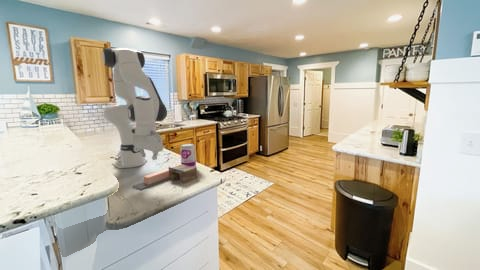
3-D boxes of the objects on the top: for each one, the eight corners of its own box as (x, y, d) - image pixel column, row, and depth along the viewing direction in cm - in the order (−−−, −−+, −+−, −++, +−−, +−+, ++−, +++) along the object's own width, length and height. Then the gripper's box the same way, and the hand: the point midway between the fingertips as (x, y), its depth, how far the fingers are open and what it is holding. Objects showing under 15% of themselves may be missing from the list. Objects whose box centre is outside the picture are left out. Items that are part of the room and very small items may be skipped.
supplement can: (192, 172, 122) (191, 146, 119) (179, 171, 123) (177, 146, 121) (198, 167, 129) (196, 143, 127) (185, 167, 131) (183, 143, 129)
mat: (132, 187, 103) (132, 185, 103) (161, 176, 116) (161, 175, 116) (140, 190, 99) (140, 189, 99) (169, 179, 112) (169, 178, 112)
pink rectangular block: (144, 183, 106) (143, 176, 105) (167, 174, 117) (167, 168, 117) (148, 184, 104) (148, 177, 103) (172, 175, 115) (172, 169, 115)
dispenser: (169, 179, 112) (168, 167, 111) (183, 174, 119) (182, 162, 118) (183, 183, 105) (182, 170, 104) (197, 177, 113) (196, 165, 112)
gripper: (165, 131, 100) (167, 159, 102) (140, 127, 111) (143, 153, 114) (153, 133, 95) (155, 163, 97) (128, 129, 106) (131, 156, 109)
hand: (148, 158), depth 106 cm, fingers open, 8 cm apart
